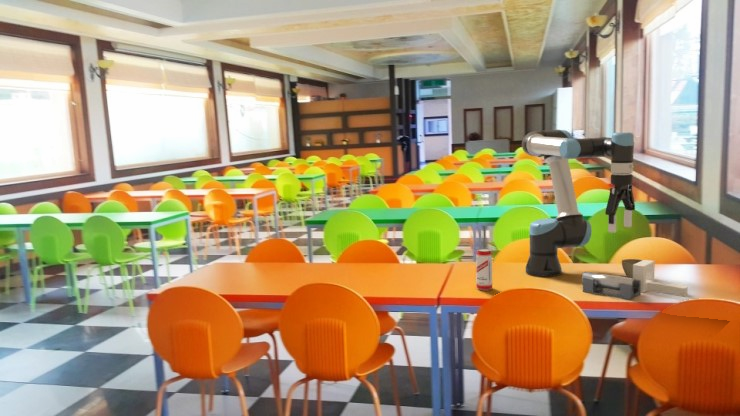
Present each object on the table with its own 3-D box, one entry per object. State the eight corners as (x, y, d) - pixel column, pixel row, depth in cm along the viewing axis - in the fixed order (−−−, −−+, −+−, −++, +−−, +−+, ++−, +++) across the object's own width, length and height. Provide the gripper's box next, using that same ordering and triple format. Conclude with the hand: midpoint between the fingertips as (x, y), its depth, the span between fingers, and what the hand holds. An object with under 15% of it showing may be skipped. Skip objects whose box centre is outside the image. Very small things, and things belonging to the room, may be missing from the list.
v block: (582, 291, 216) (582, 277, 215) (593, 286, 222) (593, 273, 221) (630, 300, 203) (631, 285, 202) (640, 294, 209) (640, 280, 209)
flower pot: (650, 281, 226) (651, 264, 225) (624, 281, 228) (624, 264, 227) (644, 275, 236) (644, 258, 235) (618, 275, 238) (619, 258, 237)
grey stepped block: (596, 285, 224) (596, 260, 223) (607, 279, 232) (608, 255, 230) (681, 299, 202) (682, 271, 201) (690, 292, 210) (691, 265, 208)
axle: (581, 285, 218) (581, 272, 217) (587, 283, 221) (587, 270, 221) (629, 293, 205) (629, 280, 205) (634, 291, 209) (634, 278, 208)
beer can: (481, 285, 229) (480, 247, 227) (495, 288, 225) (494, 249, 223) (473, 289, 225) (473, 250, 222) (487, 291, 221) (487, 252, 219)
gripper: (617, 177, 199) (615, 235, 202) (645, 171, 216) (643, 225, 219) (596, 176, 205) (595, 233, 208) (625, 170, 221) (624, 223, 225)
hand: (619, 229), depth 213 cm, fingers open, 13 cm apart
